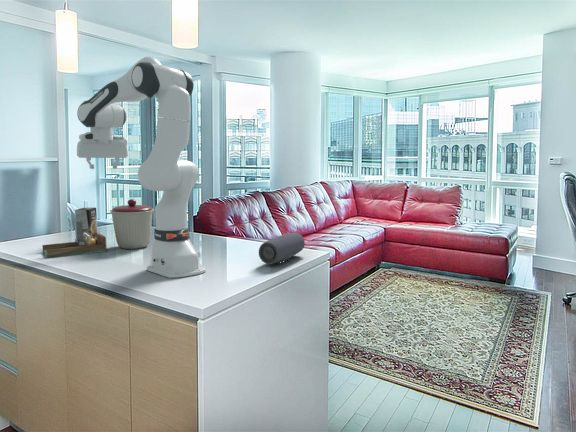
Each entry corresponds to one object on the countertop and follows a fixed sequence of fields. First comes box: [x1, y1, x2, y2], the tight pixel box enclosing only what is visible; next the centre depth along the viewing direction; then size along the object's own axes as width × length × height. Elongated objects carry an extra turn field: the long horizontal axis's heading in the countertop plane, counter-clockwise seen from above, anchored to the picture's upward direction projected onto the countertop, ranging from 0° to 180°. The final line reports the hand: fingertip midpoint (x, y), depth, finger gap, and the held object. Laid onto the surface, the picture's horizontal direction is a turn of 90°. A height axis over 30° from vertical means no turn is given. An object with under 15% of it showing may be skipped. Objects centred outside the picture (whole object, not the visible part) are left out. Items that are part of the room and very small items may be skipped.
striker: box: [74, 220, 85, 247], centre depth 184 cm, size 8×2×11 cm, turn 36°
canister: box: [109, 198, 155, 250], centre depth 193 cm, size 18×18×21 cm
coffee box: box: [74, 207, 99, 241], centre depth 199 cm, size 9×6×16 cm
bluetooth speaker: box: [258, 232, 306, 265], centre depth 171 cm, size 23×9×10 cm, turn 152°
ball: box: [86, 238, 96, 246], centre depth 187 cm, size 4×4×4 cm
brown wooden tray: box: [42, 232, 107, 259], centre depth 183 cm, size 12×22×7 cm, turn 126°
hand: (103, 168), depth 190 cm, fingers open, 8 cm apart
